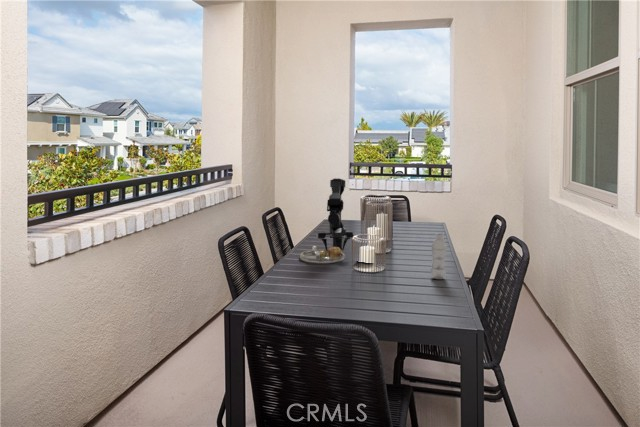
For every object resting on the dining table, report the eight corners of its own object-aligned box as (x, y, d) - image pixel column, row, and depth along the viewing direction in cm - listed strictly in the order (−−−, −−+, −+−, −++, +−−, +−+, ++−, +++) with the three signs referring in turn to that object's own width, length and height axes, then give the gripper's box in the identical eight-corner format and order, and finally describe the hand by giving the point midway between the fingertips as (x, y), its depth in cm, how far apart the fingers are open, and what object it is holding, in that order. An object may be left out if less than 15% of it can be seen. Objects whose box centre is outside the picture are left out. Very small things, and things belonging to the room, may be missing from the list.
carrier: (297, 254, 262) (297, 244, 261) (339, 252, 266) (339, 243, 265) (303, 264, 240) (303, 254, 239) (348, 262, 244) (348, 252, 243)
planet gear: (327, 254, 257) (327, 246, 256) (339, 253, 258) (339, 246, 257) (329, 257, 250) (329, 249, 250) (342, 256, 251) (342, 248, 251)
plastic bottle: (433, 276, 219) (434, 232, 216) (447, 278, 215) (449, 234, 212) (427, 279, 214) (429, 235, 211) (442, 281, 210) (444, 236, 207)
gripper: (319, 224, 242) (319, 254, 244) (356, 223, 245) (355, 253, 247) (316, 220, 253) (316, 249, 255) (350, 220, 256) (350, 248, 258)
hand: (334, 250), depth 254 cm, fingers open, 8 cm apart
